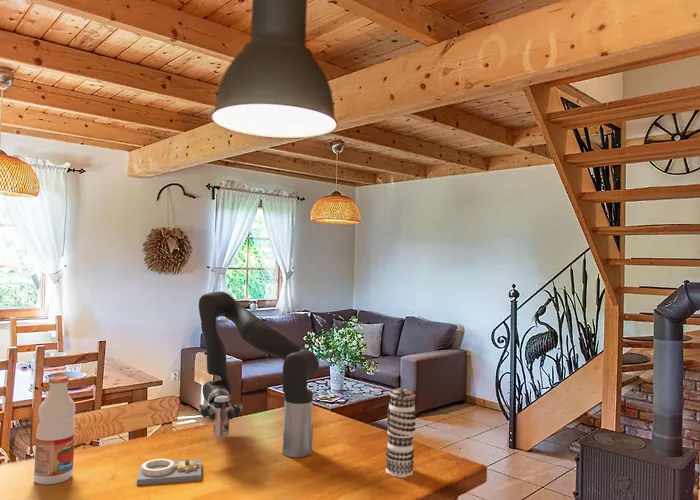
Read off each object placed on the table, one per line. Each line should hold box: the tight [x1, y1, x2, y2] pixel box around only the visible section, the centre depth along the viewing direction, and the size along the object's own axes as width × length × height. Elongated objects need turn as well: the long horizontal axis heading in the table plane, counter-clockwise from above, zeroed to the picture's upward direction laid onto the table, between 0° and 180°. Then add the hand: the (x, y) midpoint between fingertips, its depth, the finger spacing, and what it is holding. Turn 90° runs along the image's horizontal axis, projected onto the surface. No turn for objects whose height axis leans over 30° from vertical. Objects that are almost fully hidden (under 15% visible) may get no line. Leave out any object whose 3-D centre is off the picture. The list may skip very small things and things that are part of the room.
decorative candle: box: [385, 387, 418, 478], centre depth 160 cm, size 9×9×25 cm
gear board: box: [136, 458, 202, 486], centre depth 151 cm, size 17×12×4 cm
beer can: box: [212, 395, 230, 438], centre depth 162 cm, size 5×5×12 cm
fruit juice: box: [33, 375, 76, 486], centre depth 145 cm, size 9×9×28 cm
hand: (222, 416), depth 159 cm, fingers closed on beer can, 4 cm apart
